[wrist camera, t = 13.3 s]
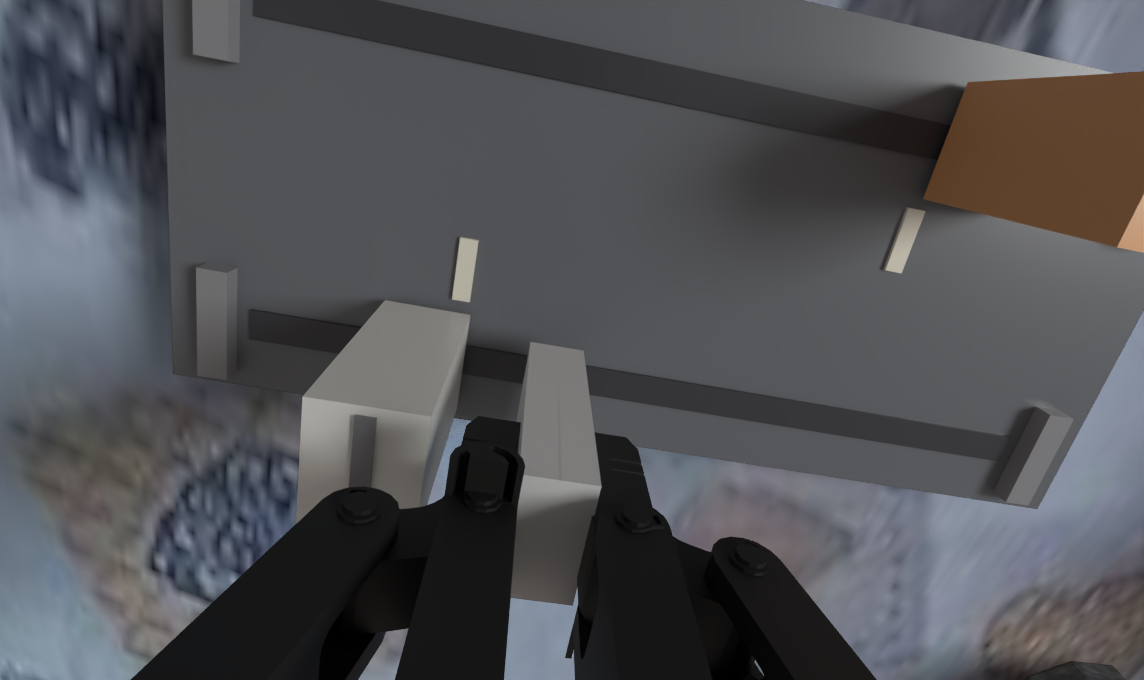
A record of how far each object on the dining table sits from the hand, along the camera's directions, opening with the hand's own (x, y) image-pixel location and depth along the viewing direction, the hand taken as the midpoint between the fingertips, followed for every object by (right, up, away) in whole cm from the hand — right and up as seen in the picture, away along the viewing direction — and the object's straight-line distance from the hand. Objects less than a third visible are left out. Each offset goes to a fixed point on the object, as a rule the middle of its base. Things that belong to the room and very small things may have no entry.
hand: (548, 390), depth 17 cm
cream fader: (-4, +1, +1) cm, 4 cm away
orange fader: (+12, +6, -1) cm, 13 cm away
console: (+4, +5, +2) cm, 7 cm away
